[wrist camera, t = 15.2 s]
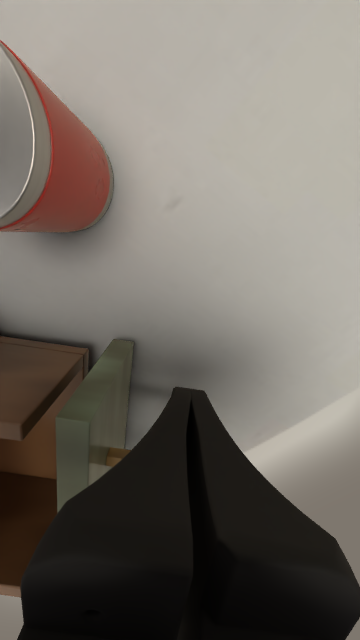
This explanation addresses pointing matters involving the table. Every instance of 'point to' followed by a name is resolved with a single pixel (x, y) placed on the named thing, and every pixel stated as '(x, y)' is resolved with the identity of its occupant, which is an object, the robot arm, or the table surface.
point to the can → (46, 158)
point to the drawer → (54, 437)
